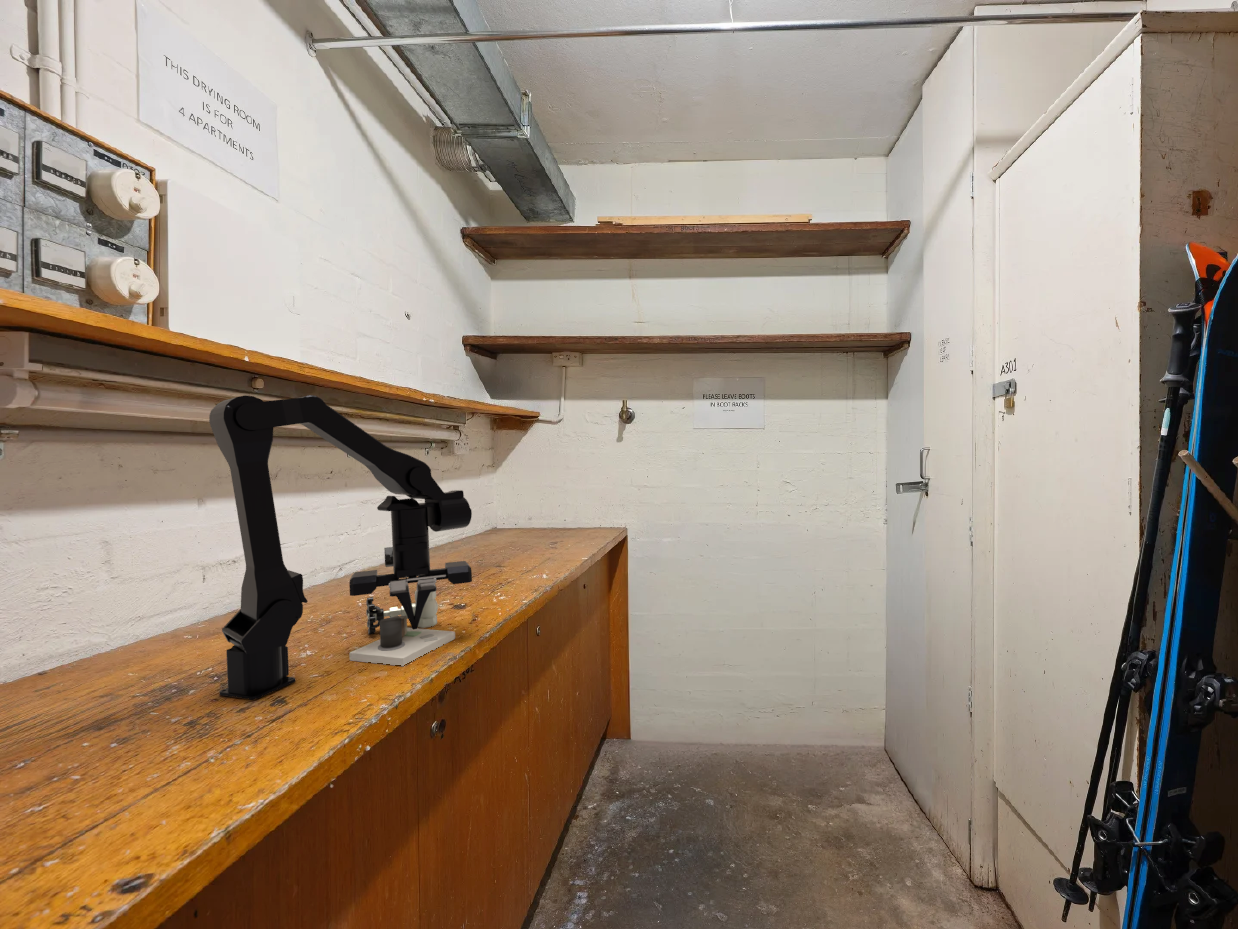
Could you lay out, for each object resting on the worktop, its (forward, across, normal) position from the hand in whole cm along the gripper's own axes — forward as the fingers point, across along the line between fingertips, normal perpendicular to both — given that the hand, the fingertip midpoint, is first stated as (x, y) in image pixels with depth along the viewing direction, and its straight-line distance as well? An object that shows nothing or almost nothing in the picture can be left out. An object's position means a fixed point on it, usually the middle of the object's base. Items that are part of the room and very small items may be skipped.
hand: (414, 628), depth 95 cm
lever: (+1, +3, +2) cm, 4 cm away
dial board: (+2, +2, +2) cm, 4 cm away
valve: (+3, +2, -10) cm, 10 cm away
